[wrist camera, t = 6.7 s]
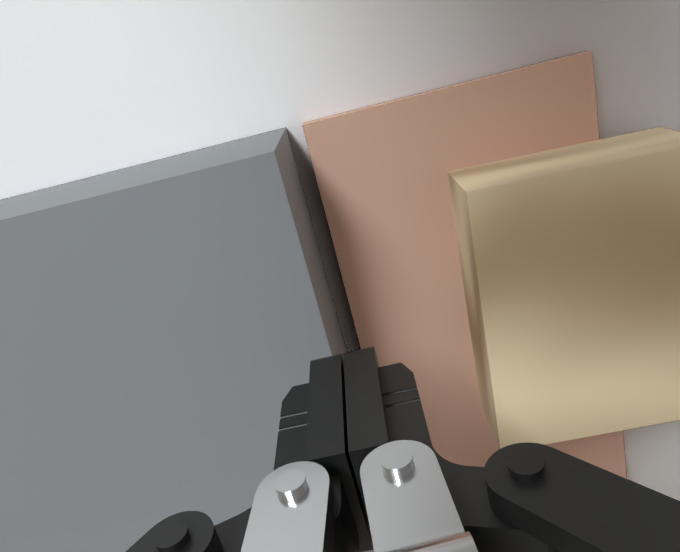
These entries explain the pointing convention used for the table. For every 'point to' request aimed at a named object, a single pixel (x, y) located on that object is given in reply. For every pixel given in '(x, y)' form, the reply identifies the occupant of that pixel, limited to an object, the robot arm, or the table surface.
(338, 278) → the table surface
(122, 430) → the slate board
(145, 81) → the table surface
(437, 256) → the rubber mat
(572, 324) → the oak tile
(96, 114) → the table surface
